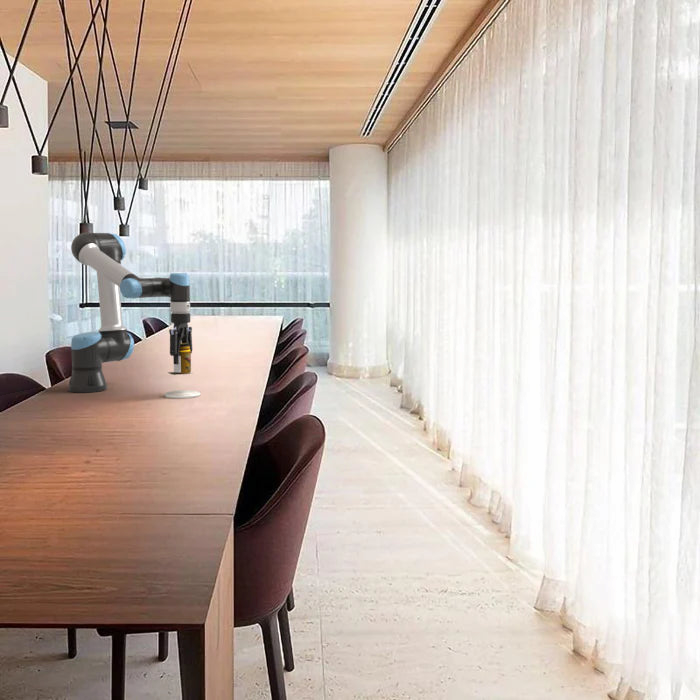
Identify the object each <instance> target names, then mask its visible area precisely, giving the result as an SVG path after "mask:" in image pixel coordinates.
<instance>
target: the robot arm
mask: <svg viewBox="0 0 700 700" xmlns="http://www.w3.org/2000/svg"><path fill="white" fill-rule="evenodd" d="M70 248H71V250H70V251H71V254H72V256H73V257H74V258H75V260H76V261H78V262H79V263H80V264H82V265H84V266H89V267H90V268H92V269H93V270H94V271H96V277H97V278H96V279H97V288H98V289H97V290H98V301H99V311H100V320H101V321H100V322H101V323H100V324H101V327H100V328H99V329H98V330H97V331H90V332H81V333H78V334H75V335H73V336H72V338H71V341H70V349H71V366H72V367H71V368H72V369H71V375H70V379H69V383H68V385H67V386H68V391H69V392H72V393H95V392H102V391H106V390H108V383H107V381H106V378H105V375H104V372H103V363H111V362H121V361H124V360H127V359H128V358H130V357H131V355H132V354H133V352H134V348H135V340H134V338H133V337H132V335H131V334H130V333H129V332H128V329H127V328H126V326H125V325H124V324H123V323H124V322H123V314H122V313H123V312H122V304H121V303H122V302H121V295H122V297H123V298H126V299H141V298H142V299H143V298H163V297H164V298H170V299H169V301H170V303H169V304H170V313H171V314H170V322H171V323H172V324H173V328H170V329H169V330H168V333H169V355H170V356H171V357H173V360H172V361H173V372H178V373H180V372H181V356H179V353H180V345H181V343H189V344H190V351H191V354H193V337H192V334H193V333H192V332H193V327H192V326H189V324H188V323H191V313H190V312H191V283H190V275H189V274H188V273H186V272H185V273H184V272H176V273H175V272H171V273H170V274H169V277H161V276H160V277H149V278H147V277H143V278H142V277H139V276H138V275H136V274H135V273H133V272H132V271H130V270H129V269H127V268H126V267H124V266H123V265H122V261H123V259H124V258H125V256H126V253H127V249H126V248H127V247H126V244H125V242H124V240H123V239H122V238H121V237H120V236H119V235H118V234H115V233H110V232H83V233H80V234H77V236H75V237H74V238H73V239H72V242H71V245H70Z"/></svg>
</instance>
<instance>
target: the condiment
mask: <svg viewBox="0 0 700 700" xmlns="http://www.w3.org/2000/svg"><path fill="white" fill-rule="evenodd" d="M179 356H181V372H180V373H178V372H174V371H169V372H168V371H167V373H168V374H170V375H172V376H180V375H194V374H195V373H194V372H192V359H191V358H192V357H191V356H192V353H191V351H190V344H189V343H182V342H181V345H180V353H179Z"/></svg>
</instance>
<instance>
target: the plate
mask: <svg viewBox="0 0 700 700" xmlns="http://www.w3.org/2000/svg"><path fill="white" fill-rule="evenodd" d="M163 396H164V398H167V399H172V400H173V399H177V400H180V399H183V400H184V399H185V400H186V399H193V398H198V397H200V396H201V391H198V390H191V389H190V390H189V389H181V390H180V389H179V390H171V391H166V392H164V394H163Z"/></svg>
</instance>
